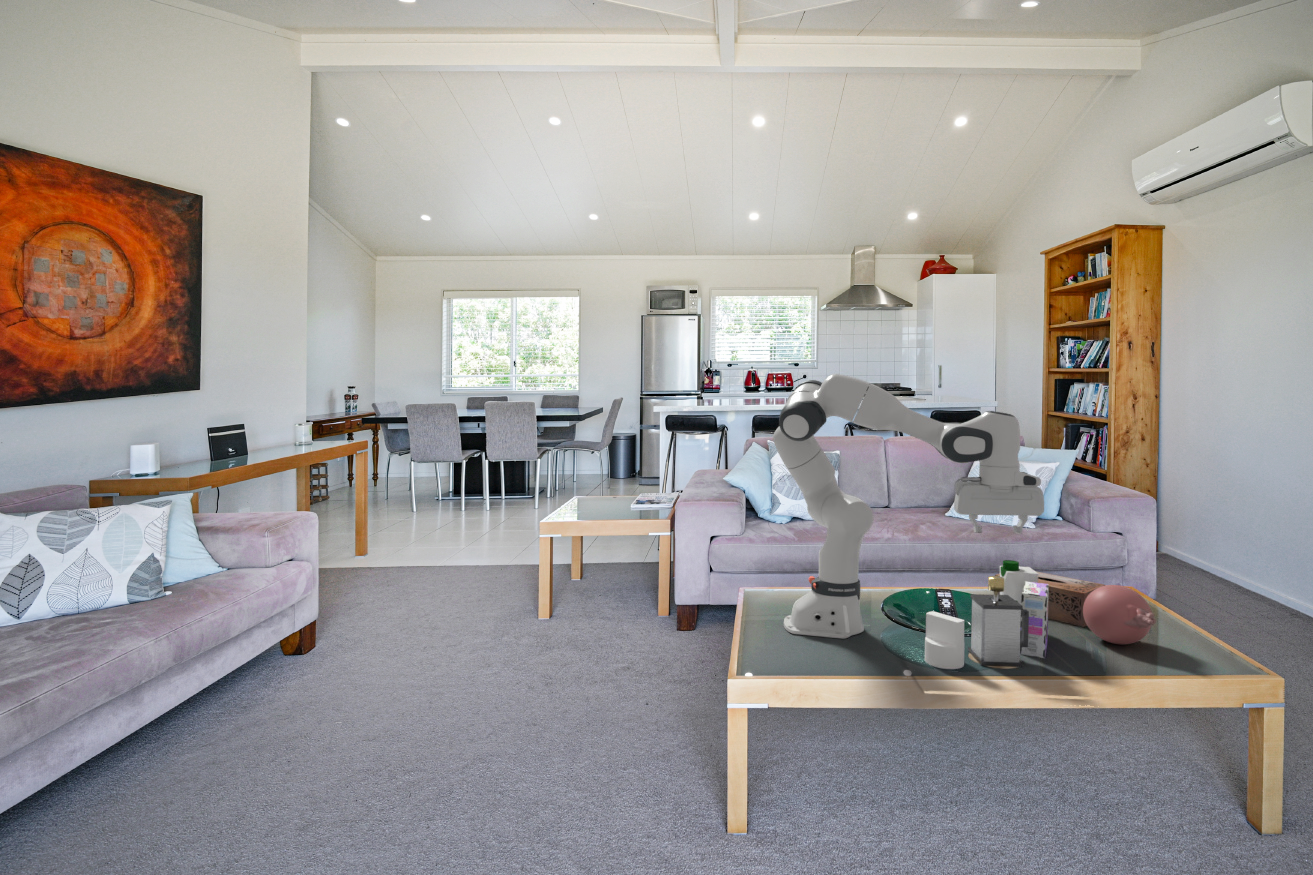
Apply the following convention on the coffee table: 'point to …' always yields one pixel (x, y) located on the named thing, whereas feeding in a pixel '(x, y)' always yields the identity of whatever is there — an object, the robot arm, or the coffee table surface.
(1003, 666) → the trivet
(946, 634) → the cylinder with rectangular tab
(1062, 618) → the tissue box cover
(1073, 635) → the coffee table surface
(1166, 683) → the coffee table surface
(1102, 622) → the pink oval ball
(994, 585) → the plunger
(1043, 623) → the candy box
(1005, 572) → the milk carton
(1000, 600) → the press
